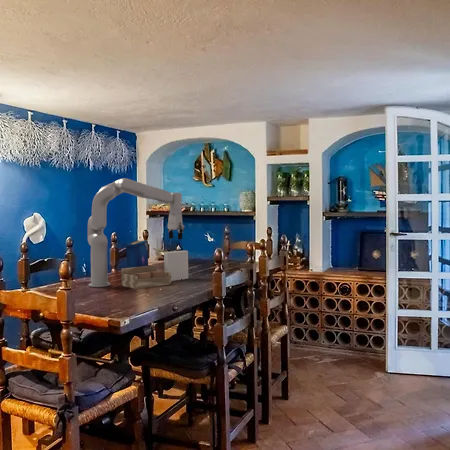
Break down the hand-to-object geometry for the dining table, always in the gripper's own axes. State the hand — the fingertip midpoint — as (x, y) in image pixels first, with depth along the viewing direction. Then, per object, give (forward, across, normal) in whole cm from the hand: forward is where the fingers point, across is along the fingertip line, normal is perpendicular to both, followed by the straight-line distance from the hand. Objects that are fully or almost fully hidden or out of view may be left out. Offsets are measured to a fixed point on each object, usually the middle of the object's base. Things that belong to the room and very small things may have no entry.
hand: (175, 238), depth 314 cm
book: (+27, -14, -19) cm, 36 cm away
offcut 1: (+27, +8, -29) cm, 40 cm away
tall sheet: (+26, 0, +1) cm, 26 cm away
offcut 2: (+27, +8, -19) cm, 34 cm away
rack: (+27, +4, -24) cm, 36 cm away
